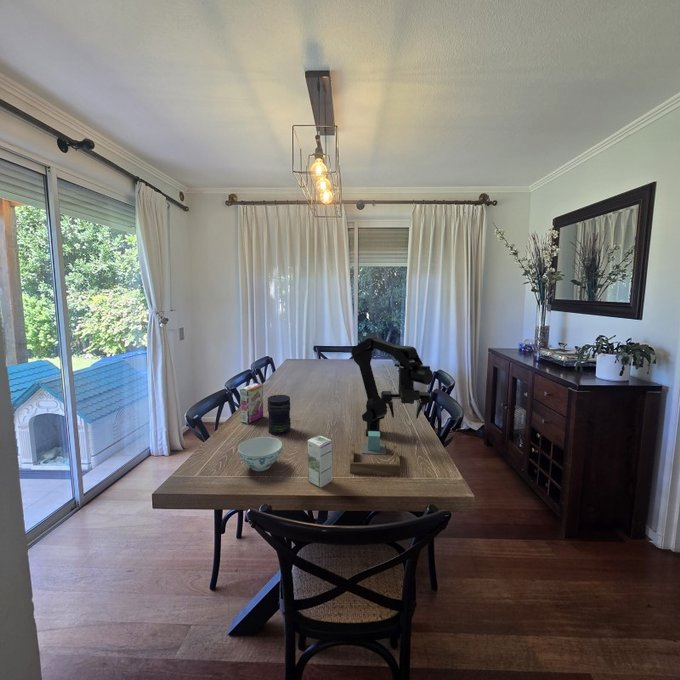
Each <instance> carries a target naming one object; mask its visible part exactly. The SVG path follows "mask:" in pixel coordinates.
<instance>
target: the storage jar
mask: <svg viewBox="0 0 680 680" xmlns="http://www.w3.org/2000/svg"><path fill="white" fill-rule="evenodd" d="M267 412H268V414H267V415H268V420H267V427H268V434H269V435H271V436H285V435H287V434H289V433H291V431H292V430H291V397H290V396H289V395H286V394H275V395H271V396H268V397H267Z"/></svg>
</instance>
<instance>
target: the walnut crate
mask: <svg viewBox="0 0 680 680" xmlns="http://www.w3.org/2000/svg"><path fill="white" fill-rule="evenodd" d="M393 457H394V458H393V459H394V463H379V462H378V463H377V462H376V463H375V462H354V461H355V443H352V444H351V449H350V461H349V474H358V475H362V474H363V475H382V476H401V461H400V456H399V450H398V445H393Z"/></svg>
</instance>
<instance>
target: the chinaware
mask: <svg viewBox="0 0 680 680" xmlns="http://www.w3.org/2000/svg"><path fill="white" fill-rule="evenodd" d="M282 449H283V443H282V441H281V440H279V439H278V438H276V437H270V436H258V437H253V438H249V439H246V440H244V441H242V442H241V443H240V444H239V445H238V447H237V451H238V454H239V458H240V459H241V460H242V462H243V463H244V464H245V465H246V466H248V467H249V468H251V470H253V471H255V472H263V471H266V470H269V469H270V468H271V466H272V465H273V464H274V463H275V462H276V461H277V459H278V458H279V457H280V455H281V451H282Z"/></svg>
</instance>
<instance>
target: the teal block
mask: <svg viewBox="0 0 680 680" xmlns="http://www.w3.org/2000/svg"><path fill="white" fill-rule="evenodd" d="M367 443H368V451H380V443H381V436H380V432H379V431H368V436H367Z"/></svg>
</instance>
